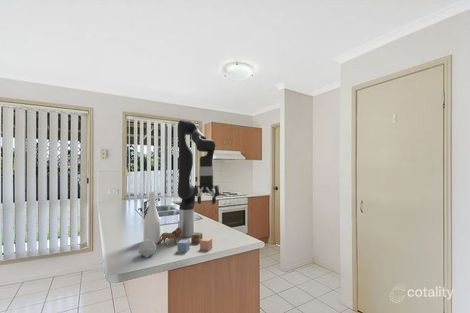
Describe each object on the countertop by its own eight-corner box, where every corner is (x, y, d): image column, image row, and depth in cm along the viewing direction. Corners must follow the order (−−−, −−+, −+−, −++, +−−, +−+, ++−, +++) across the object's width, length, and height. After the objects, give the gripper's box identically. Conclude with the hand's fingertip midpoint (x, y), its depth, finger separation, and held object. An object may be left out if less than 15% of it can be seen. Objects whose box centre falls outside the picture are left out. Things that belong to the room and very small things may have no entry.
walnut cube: (191, 243, 141) (191, 234, 141) (194, 240, 145) (194, 232, 146) (199, 243, 139) (199, 235, 140) (202, 241, 144) (202, 232, 144)
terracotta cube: (200, 249, 130) (200, 240, 130) (204, 246, 135) (204, 237, 135) (208, 250, 128) (208, 241, 129) (212, 247, 133) (212, 238, 133)
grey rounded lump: (145, 252, 127) (134, 240, 123) (160, 244, 128) (149, 232, 124) (144, 264, 120) (133, 251, 115) (159, 255, 120) (149, 242, 116)
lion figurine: (181, 240, 145) (181, 225, 145) (183, 243, 140) (183, 227, 140) (156, 244, 138) (156, 228, 139) (157, 247, 134) (157, 231, 134)
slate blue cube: (177, 252, 126) (177, 242, 126) (180, 248, 131) (180, 239, 131) (186, 252, 125) (186, 243, 126) (189, 249, 130) (189, 240, 131)
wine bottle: (163, 240, 146) (164, 191, 147) (152, 245, 137) (152, 192, 138) (151, 238, 150) (152, 190, 151) (140, 242, 141) (140, 192, 142)
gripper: (191, 175, 132) (191, 204, 131) (215, 175, 127) (215, 205, 127) (198, 174, 139) (198, 202, 138) (220, 174, 134) (221, 203, 134)
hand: (206, 203), depth 133 cm, fingers open, 8 cm apart
